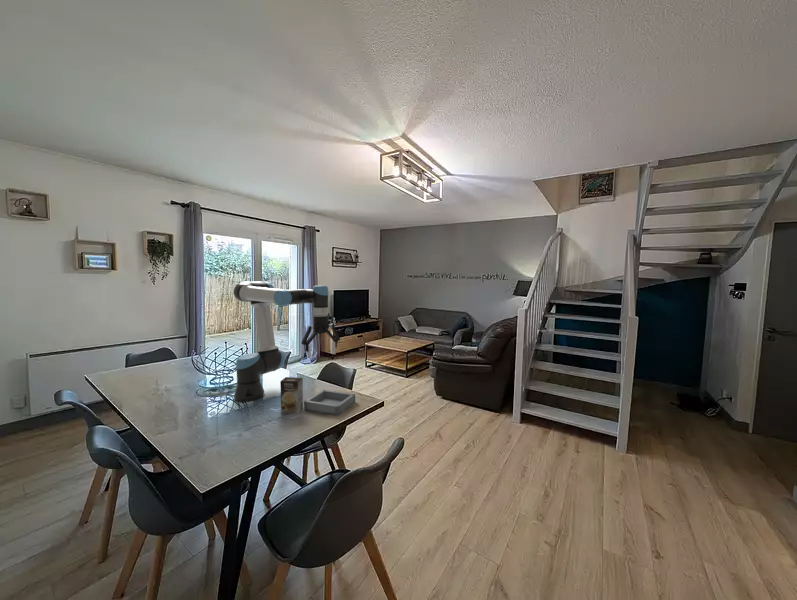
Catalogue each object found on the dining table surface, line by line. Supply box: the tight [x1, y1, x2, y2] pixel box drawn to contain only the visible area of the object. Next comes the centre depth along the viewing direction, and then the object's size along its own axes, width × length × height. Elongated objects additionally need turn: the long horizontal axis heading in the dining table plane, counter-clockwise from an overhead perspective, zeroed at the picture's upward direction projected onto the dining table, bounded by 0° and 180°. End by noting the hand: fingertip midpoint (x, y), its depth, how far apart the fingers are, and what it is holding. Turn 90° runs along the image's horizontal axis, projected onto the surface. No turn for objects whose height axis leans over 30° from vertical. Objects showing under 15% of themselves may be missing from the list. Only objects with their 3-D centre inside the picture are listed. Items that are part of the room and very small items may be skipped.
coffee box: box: [280, 376, 304, 415], centre depth 151 cm, size 9×6×16 cm
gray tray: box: [303, 389, 356, 417], centre depth 156 cm, size 20×17×4 cm
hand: (321, 355), depth 159 cm, fingers open, 13 cm apart
